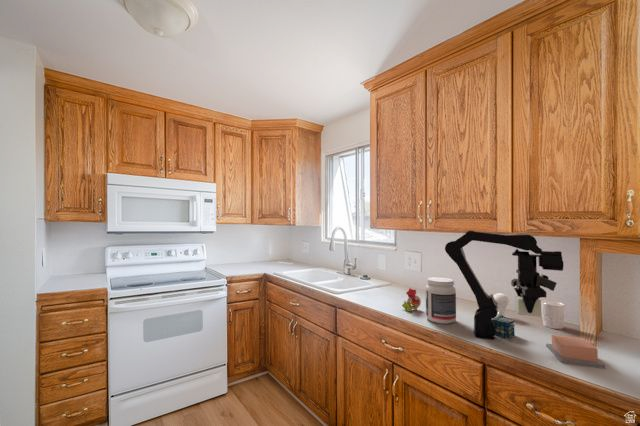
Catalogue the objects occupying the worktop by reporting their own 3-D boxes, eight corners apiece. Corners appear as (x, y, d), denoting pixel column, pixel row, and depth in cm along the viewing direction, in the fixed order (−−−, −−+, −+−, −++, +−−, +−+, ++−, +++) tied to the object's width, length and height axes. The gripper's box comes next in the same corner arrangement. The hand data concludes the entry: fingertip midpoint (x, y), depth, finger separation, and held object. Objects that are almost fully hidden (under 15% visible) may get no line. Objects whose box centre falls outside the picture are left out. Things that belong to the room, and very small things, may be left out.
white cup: (565, 326, 128) (564, 302, 128) (564, 331, 122) (563, 306, 122) (542, 322, 133) (542, 299, 134) (540, 326, 127) (540, 303, 128)
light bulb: (495, 318, 138) (495, 294, 138) (490, 313, 144) (490, 291, 145) (511, 319, 136) (511, 295, 137) (506, 315, 143) (505, 291, 143)
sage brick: (518, 314, 109) (518, 299, 109) (514, 310, 113) (514, 296, 113) (541, 316, 106) (541, 300, 107) (536, 312, 111) (536, 297, 111)
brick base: (561, 362, 95) (561, 346, 95) (546, 346, 107) (546, 332, 107) (605, 368, 91) (605, 352, 91) (584, 351, 104) (583, 336, 104)
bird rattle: (411, 312, 154) (397, 306, 151) (419, 291, 155) (405, 285, 153) (419, 316, 148) (404, 310, 145) (427, 294, 149) (412, 288, 147)
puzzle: (498, 331, 122) (497, 316, 122) (514, 335, 118) (514, 320, 118) (491, 334, 119) (491, 319, 119) (508, 339, 114) (508, 323, 114)
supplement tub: (462, 322, 132) (462, 280, 133) (442, 326, 127) (442, 283, 127) (439, 314, 144) (438, 275, 144) (419, 318, 138) (419, 278, 138)
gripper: (564, 273, 99) (565, 321, 98) (543, 265, 116) (544, 306, 116) (525, 271, 102) (525, 317, 102) (510, 264, 120) (511, 303, 120)
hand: (527, 310), depth 110 cm, fingers closed on sage brick, 5 cm apart
